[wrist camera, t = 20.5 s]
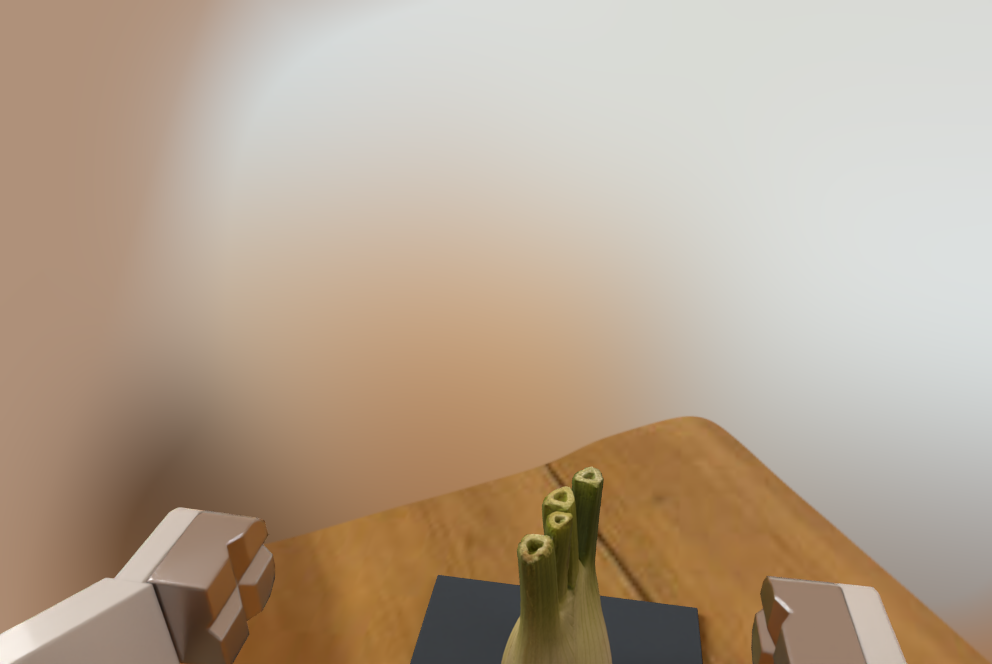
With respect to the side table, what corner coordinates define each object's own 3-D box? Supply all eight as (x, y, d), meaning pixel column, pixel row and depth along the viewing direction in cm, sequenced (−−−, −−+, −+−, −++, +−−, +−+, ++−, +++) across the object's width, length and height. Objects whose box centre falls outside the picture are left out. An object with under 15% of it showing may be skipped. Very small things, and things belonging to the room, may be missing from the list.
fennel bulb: (574, 637, 35) (586, 446, 29) (640, 718, 31) (668, 517, 26) (474, 694, 32) (465, 497, 27) (533, 789, 29) (538, 583, 23)
